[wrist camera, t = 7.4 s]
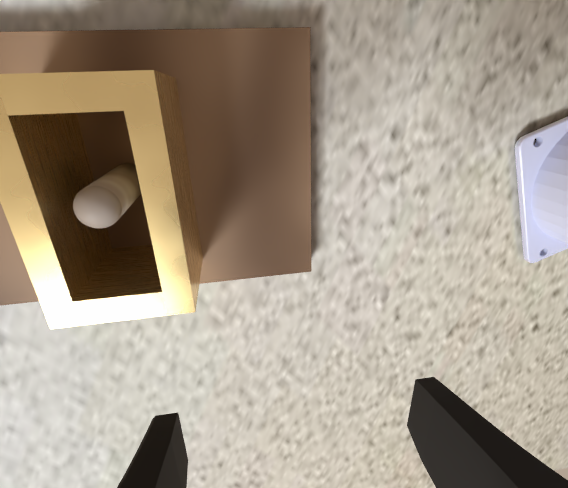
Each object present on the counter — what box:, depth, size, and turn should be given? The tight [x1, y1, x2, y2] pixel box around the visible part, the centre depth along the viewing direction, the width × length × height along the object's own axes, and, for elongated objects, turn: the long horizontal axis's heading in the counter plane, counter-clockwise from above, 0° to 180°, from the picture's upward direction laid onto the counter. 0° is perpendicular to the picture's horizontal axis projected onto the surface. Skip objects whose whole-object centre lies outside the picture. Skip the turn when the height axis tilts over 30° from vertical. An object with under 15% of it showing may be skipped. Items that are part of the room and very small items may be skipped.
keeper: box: [0, 27, 311, 305], centre depth 13 cm, size 16×11×6 cm
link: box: [0, 70, 203, 329], centre depth 13 cm, size 8×5×4 cm, turn 2°
